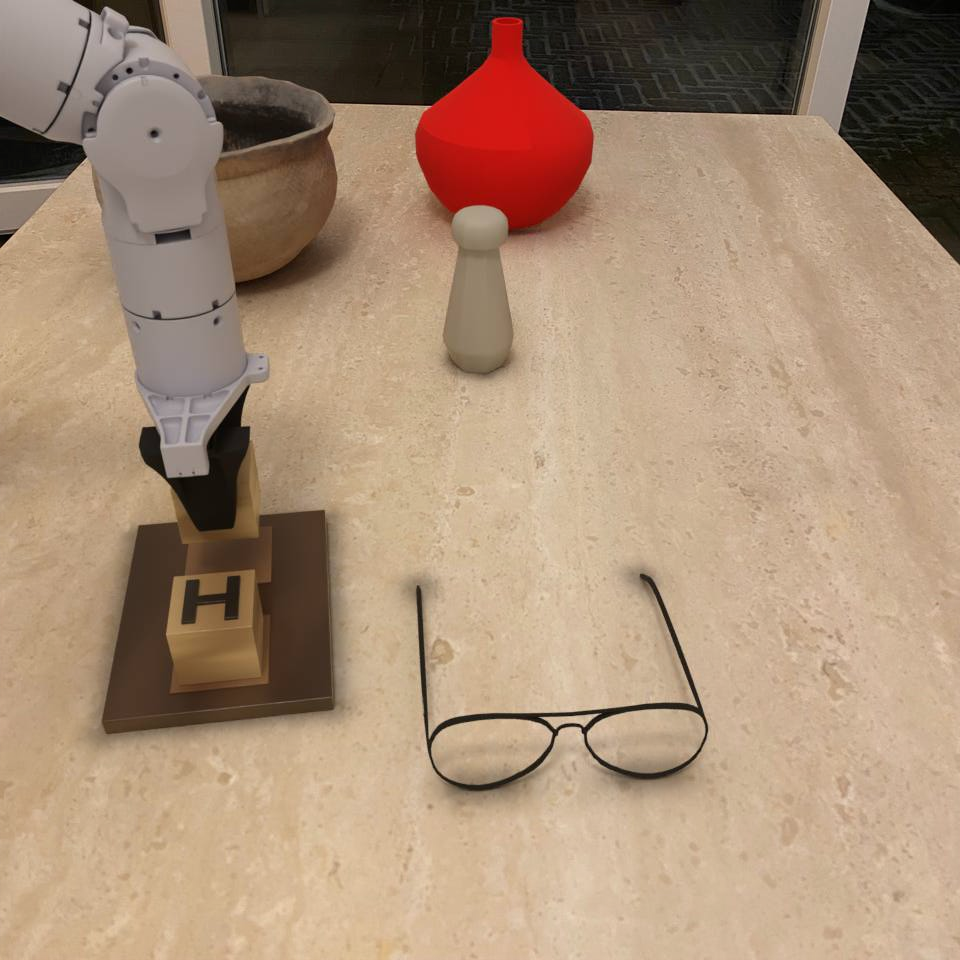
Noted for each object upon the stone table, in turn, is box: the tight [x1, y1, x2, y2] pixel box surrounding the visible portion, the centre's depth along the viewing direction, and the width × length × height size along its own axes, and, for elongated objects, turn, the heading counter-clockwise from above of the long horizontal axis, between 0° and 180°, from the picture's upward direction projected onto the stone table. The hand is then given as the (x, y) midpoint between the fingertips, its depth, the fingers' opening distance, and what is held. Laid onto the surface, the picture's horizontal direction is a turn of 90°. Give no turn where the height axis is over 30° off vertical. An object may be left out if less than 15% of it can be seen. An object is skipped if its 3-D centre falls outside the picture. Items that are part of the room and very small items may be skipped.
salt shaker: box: [442, 205, 515, 375], centre depth 79 cm, size 6×6×13 cm
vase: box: [414, 16, 595, 231], centre depth 101 cm, size 18×18×19 cm
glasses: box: [415, 573, 709, 791], centre depth 56 cm, size 14×15×5 cm
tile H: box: [166, 570, 264, 685], centre depth 55 cm, size 4×4×4 cm
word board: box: [101, 509, 334, 734], centre depth 59 cm, size 12×16×1 cm
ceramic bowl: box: [91, 73, 339, 284], centre depth 92 cm, size 22×22×15 cm
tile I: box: [170, 439, 262, 544], centre depth 59 cm, size 4×4×4 cm
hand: (218, 499), depth 59 cm, fingers closed on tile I, 4 cm apart
